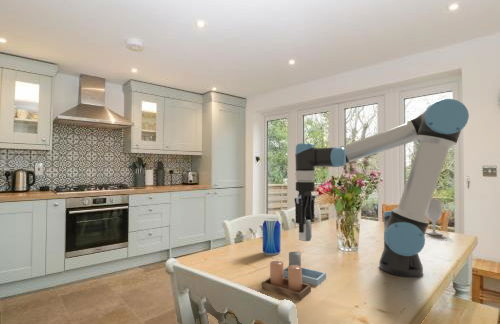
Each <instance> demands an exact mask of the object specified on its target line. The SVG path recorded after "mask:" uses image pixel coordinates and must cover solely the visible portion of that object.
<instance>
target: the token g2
mask: <svg viewBox="0 0 500 324" xmlns="http://www.w3.org/2000/svg"><path fill="white" fill-rule="evenodd" d="M305 224H306V241H305V242H310V241H311V240H312V238H311V220H309V219H306V218H305ZM300 241H302V240H300ZM302 242H303V241H302Z"/></svg>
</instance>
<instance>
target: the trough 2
mask: <svg viewBox="0 0 500 324" xmlns="http://www.w3.org/2000/svg"><path fill="white" fill-rule="evenodd" d="M301 267H302V283H304V284H308V285H311V286H316V287H318V286H319V285H321V283H323V282H324V281H326V280H327V272H325V271H324V272H323V271H319V270H315V269H310V268H306V267H303V266H301ZM283 278H286V279H288V266H287V267H285V268H283Z"/></svg>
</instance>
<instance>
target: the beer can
mask: <svg viewBox="0 0 500 324" xmlns="http://www.w3.org/2000/svg"><path fill="white" fill-rule="evenodd" d="M281 226H282V225H281V223H280V220H279V219H278V218H272V217H269V218H265V219H264V220H263V223H262V252H263V254H264V255H265V256H268V257H269V256H277V255H279V254H280V253H281V246H282V245H281V244H282V243H281V238H282V237H281V235H282V234H281Z"/></svg>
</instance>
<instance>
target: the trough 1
mask: <svg viewBox="0 0 500 324" xmlns="http://www.w3.org/2000/svg"><path fill="white" fill-rule="evenodd" d="M261 289H262V290H264V291H268V292H271V293H274V294H277V295H281V296H283V297H286V298H289V299H293V300H296V301H300V302H301V301H302V300H303V299H304V298H305V297H307V296H308V295H309V294H310V293H311V292H312V284H308V283H304V282H302V291H301V292H300V293H298V292H295V291H292V290H288V278H286V277H283V288H282V287H278V286H275V285H271V284H270V277H268V278H267V279H266V280H263V281H262V282H261Z"/></svg>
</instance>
